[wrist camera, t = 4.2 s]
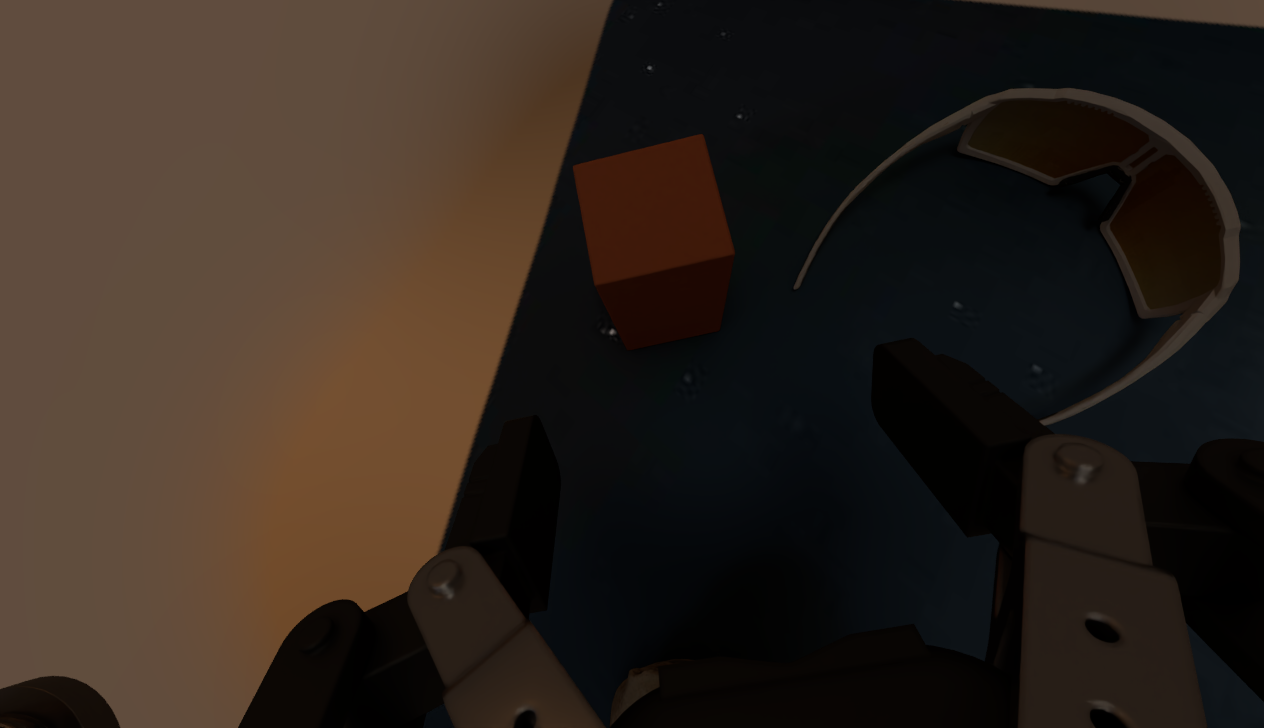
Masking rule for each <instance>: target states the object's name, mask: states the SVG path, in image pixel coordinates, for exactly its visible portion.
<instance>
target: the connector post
mask: <svg viewBox="0 0 1264 728" xmlns="http://www.w3.org/2000/svg"><path fill="white" fill-rule="evenodd" d="M573 171H574V176H575V182H576V187H577V193H578V198H579V203H580V209H581V214H582V220H583V225H584V231H585V236H586V241H587V247H588V252H589V258H590V263H591V269H592V274H593V280H594V285H595V287H596V289H597V291H598V293H599V295H600V297H601V299H602V301H603V303H604V305H605V307H606V309H607V311H608V313H609V315H610V317H611V319H612V321H613V323H614V325H615V327H616V329H617V331H618V333H619V335H620V337H621V339H622V341H623V343H624V345H625V347H626V349H627V350H633V349H638V348H643V347H647V346H652V345H656V344H661V343H666V342H670V341H675V340H679V339H684V338H689V337H693V336H698V335H702V334H707V333H712V332H716V331H719V330H720V327H721V321H722V316H723V311H724V306H725V301H726V296H727V291H728V286H729V281H730V275H731V270H732V265H733V260H734V255H735V251H734V247H733V243H732V240H731V236H730V232H729V228H728V225H727V221H726V217H725V214H724V210H723V206H722V202H721V199H720V195H719V191H718V187H717V184H716V180H715V176H714V173H713V169H712V165H711V161H710V158H709V154H708V150H707V146H706V143H705V139H704V136H703V134H699V135H695V136H691V137H687V138H683V139H679V140H675V141H671V142H667V143H663V144H659V145H655V146H651V147H647V148H643V149H638V150H634V151H630V152H626V153H622V154H618V155H614V156H610V157H606V158H602V159H598V160H594V161H590V162H586V163H582V164H578V165H574V166H573Z"/></svg>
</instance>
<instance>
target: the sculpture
mask: <svg viewBox="0 0 1264 728" xmlns="http://www.w3.org/2000/svg"><path fill="white" fill-rule="evenodd" d="M687 661H693V660H689V659H672V660H667V661H662V662H657V663H654V664H651V665H648V666H646V667H643V668H634V669H631V670H629V675H628V679H626V680H625V681H623V682H622V683H621V685H620V686H619V687H618V689H617V690H616V693H615V696H614V699H613V703H612V709H611V718H610V727H611V725H612V724H613V723H614V722H615V721H616V720H617V719H618V717H619V716H620V715H621V714H622V713H623V712H624V711H625V710H626V709H627V708H629V707H630V706H631V705H632V704H633V703H634V702H635V701H637V700H638V699H640V698H641V697H643V696H644V695H646V694H647V693H649V692H650V691H652V690H654V689H656V688H658V687H660V685H659V673H658V666H663V665H669V664H675V663H681V662H687Z"/></svg>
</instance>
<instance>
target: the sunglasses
mask: <svg viewBox="0 0 1264 728" xmlns="http://www.w3.org/2000/svg"><path fill="white" fill-rule="evenodd" d="M968 123H969V124H968ZM962 124H963V125H966V124H968V125H967V127H966V129H965V131H964V132H963V135H962V137H961V140H960V142H959V145H958V147H957V151H958V152H960V153H963V154H967V155H970V156H974V157H977V158H980V159H983V160H987V161H990V162H993V163H996V164H999V165H1002V166H1005V167H1008V168H1010V169H1013V170H1016V171H1018V172H1021V173H1023V174H1026V175H1028V176H1031V177H1033V178H1035V179H1037V180H1039V181H1041V182H1044V183H1046V184H1048V185H1058V184H1059V186H1060V187H1065V186H1068V185H1072V184H1075V183H1078V182H1081V181H1084V180H1087V179H1090V178H1092V177H1095V176H1098V175H1102V174H1105V173H1107V174H1108V175H1109V176H1111V177H1112V178H1113V179H1114V180H1115V181H1116V182H1118V183H1119V184H1120V185H1121V186H1120V187H1119V189H1118V190H1117V192H1116V193H1115V195H1114V196H1113V198H1112V199H1111V200H1110V202H1109V203H1108V205H1107V206H1106V208H1105V209H1104V211H1103V212H1102V214H1101V215H1100V217H1099V219H1098V220H1099V221H1101V222H1102V223H1101V225H1100V231H1101V233H1102V234H1103V236H1104V238H1105V239H1106V241H1107V243H1108V244H1109V246H1110V248H1111V250H1112V251H1113V253H1114V255H1115V257H1116V259H1117V262H1118V264H1119V266H1120V269H1121V271H1122V274H1123V276H1124V278H1125V281H1126V283H1127V285H1128V288H1129V290H1130V293H1131V296H1132V299H1133V302H1134V305H1135V307H1136V310H1137V313H1138V316H1139V317H1140V318H1142V319H1147V318H1158V317H1167V316H1174V315H1178V314H1182V313H1183V314H1182V315H1181V316H1180V318H1181V320H1177V321H1176V322H1175V323H1174V324H1173V325H1172V326H1171V327H1170V328H1169V329H1168V330H1167V332H1166V333H1165V334H1164V335H1163V336H1162V337H1161V339H1160V341H1159V342H1158V343H1157V344H1156V346H1155V347H1154V348H1153V350H1152V351H1151V352H1150V354H1149V355H1148V356H1147V357H1146V358H1145V359H1144V360H1143V361H1142V362H1141V363H1139V364H1138V365H1137V366H1136V367H1135V368H1134V369H1133V370H1131V371H1130V372H1129V373H1128V374H1126V375H1125V376H1124V377H1123V378H1121V379H1120V380H1118V381H1117V382H1115V383H1113V384H1111V385H1110V386H1108V387H1106V388H1105V389H1103V390H1101V391H1100V392H1098V393H1096V394H1094V395H1092V396H1090V397H1088V398H1086V399H1084V400H1082V401H1080V402H1078V403H1076V404H1074V405H1072V406H1070V407H1068V408H1066V409H1064V410H1062V411H1060V412H1057V413H1054V414H1052V415H1049V416H1046V417H1043V418H1040V419H1038V421H1039V422H1040V423H1042V424H1043V425H1044V426H1047V425H1049V424H1052V423H1055V422H1058V421H1061V420H1063V419H1065V418H1068V417H1071V416H1073V415H1075V414H1077V413H1079V412H1081V411H1083V410H1085V409H1087V408H1089V407H1091V406H1093V405H1095V404H1097V403H1099V402H1100V401H1102V400H1104V399H1106V398H1108V397H1109V396H1111V395H1113V394H1115V393H1117V392H1118V391H1120V390H1122V389H1123V388H1125V387H1127V386H1128V385H1130V384H1132V383H1133V382H1135V381H1136V380H1138V379H1139V378H1141V377H1142V376H1144V375H1145V374H1147V373H1148V372H1149V371H1151V370H1152V369H1154V368H1155V367H1157V366H1158V365H1160V364H1161V363H1163V362H1164V361H1165V360H1166V359H1168V358H1169V357H1170V356H1172V355H1173V354H1174V353H1175V352H1177V351H1178V350H1179V349H1180V348H1181V347H1182V346H1183V345H1184V344H1185V343H1186V342H1187V341H1188V340H1189V339H1190V338H1192V337H1193V336H1194V335H1195V334H1196V333H1197V331H1198V330H1199V329H1200V328H1201V327H1202V326H1203V325H1204V324H1205V323H1206V322H1207V321H1209V320H1210V318H1211V317H1212V316H1213V315H1214V314H1215V313H1216V312H1217V311H1218V310H1219V309H1220V308H1221V307H1222V306H1223V305H1224V304H1225V303H1226V302H1227V300H1228V297H1229V295H1230V293H1231V291H1232V290H1233V288H1234V286H1235V285H1236V283H1237V282H1238V280H1239V267H1240V252H1239V232H1240V228H1241V225H1240V221H1239V217H1238V212H1237V210H1236V207H1235V204H1234V202H1233V199H1232V196H1231V194H1230V192H1229V190H1228V189H1227V187H1226V185H1225V184H1224V182H1223V180H1222V179H1221V177H1220V175H1219V174H1218V172H1217V170H1216V169H1215V167H1214V165H1213V164H1212V163H1211V162H1210V161H1209V160H1208V159H1207V158H1206V157H1205V156H1204V155H1203V154H1202V152H1201V151H1200V150H1199V149H1198V148H1197V147H1196V146H1195V145H1194V144H1193V143H1192V142H1191V141H1190V140H1189V139H1188V138H1186V137H1185V136H1184V135H1182V134H1181V133H1180V132H1178V131H1177V130H1176V129H1174V128H1173V127H1172V126H1170V125H1169V124H1168V123H1166V122H1165V121H1163V120H1162V119H1160V118H1158V117H1156V116H1154V115H1152V114H1150V113H1149V112H1147V111H1145V110H1143V109H1141V108H1139V107H1137V106H1135V105H1132V104H1130V103H1127V102H1124V101H1122V100H1119V99H1117V98H1113V97H1110V96H1106V95H1102V94H1099V93H1095V92H1091V91H1086V90H1079V89H1073V88H1064V89H1036V88H1026V89H1009V90H1006V91H1003V92H1001V93H998V94H994V95H990V96H986V97H984V98H982V99H980V100H978V101H976V102H975V103H973V104H971V105H969V106H967V107H965V108H964V109H962V110H960V111H958V112H956V113H954V114H952V115H950V116H948V117H947V118H945V119H943V120H941V121H939V122H938V123H936V124H934V125H932V126H931V127H929V128H928V129H926V130H925V131H923V132H922V133H921V134H919V135H918V136H916V137H915V138H913V139H912V140H910V141H909V142H908V143H907V144H905V145H904V146H903V147H902V148H900V149H899V150H898V151H896V152H895V153H894V154H893V155H891V156H890V157H889V158H888V159H887V160H885V161H884V162H883V163H882V164H880V165H879V166H878V167H877V168H876V169H875V170H874V171H873V172H872V173H871V174H870V175H868V176H867V177H866V178H865V179H864V180H863V181H862V182H861V183H860V184H859V185H858V186H857V187H856V188H855V189H854V190H853V191H852V192H851V193H850V194H849V195H848V197H847V198H846V199H845V200H844V201H843V202H842V203H841V205H840V206H839V207H838V209H837V210H836V212H835V213H834V214H833V216H832V217H831V219H830V220H829V222H828V223H827V224H826V226H825V227H824V229H823V230H822V232H821V233H820V235H819V237H818V239H817V241H816V243H815V244H814V246H813V248H812V250H811V252H810V254H809V255H808V257H807V259H806V261H805V263H804V266H803V268H802V270H801V272H800V274H799V276H798V278H797V281H796V283H795V285H794V289H798V288H799V287H800V285H801V284H802V282H803V280H804V278H805V276H806V273H807V271H808V269H809V267H810V265H811V263H812V261H813V259H814V257H815V255H816V253H817V252H818V250H819V248H820V246H821V245H822V243H823V241H824V240H825V238H826V236H827V234H828V233H829V231H830V230H831V228H832V227H833V226H834V224H835V223H836V221H837V220H838V219H839V217H840V216H841V215H842V213H843V212H844V211H845V210H846V208H847V207H848V206H849V205H850V204H851V202H852V201H853V200H854V199H855V198H856V197H857V196H858V195H859V194H860V193H861V192H862V191H863V190H864V189H865V188H866V187H867V186H868V185H869V184H870V183H871V182H872V181H873V180H874V179H875V178H876V177H877V176H878V175H880V174H881V173H882V172H883V171H884V170H885V169H886V168H888V167H889V166H890V165H892V164H893V163H894V162H896V161H897V160H898V159H900V158H901V157H902V156H904V155H905V154H907V153H909V152H910V151H912V150H913V149H915V148H917V147H918V146H920V145H922V144H924V143H927V142H929V141H932V140H934V139H937V138H939V137H942V136H945V135H946V134H948V133H950V132H952V131H955V130H957V129H959V128H960V127H961V126H962Z"/></svg>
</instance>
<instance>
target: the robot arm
mask: <svg viewBox="0 0 1264 728" xmlns="http://www.w3.org/2000/svg"><path fill="white" fill-rule="evenodd" d="M871 402H872V408H873V412H874V415H875V418H876V420H877V422H878V424H879V425H880V427H881V428H882V429H883V430H884V432H885V433H886V434H887V436H888V437H889V438H890V439H891V441H892V442H893V443H894V444H895V446H896V447H897V448H898V450H899V451H900V452H901V453H902V455H903V456H904V457H905V459H906V460H907V461H908V462H909V464H910V465H911V466H912V467H913V469H914V470H915V471H916V473H917V474H918V475H919V476H920V478H921V479H922V480H923V481H924V483H925V484H926V485H927V487H928V488H929V489H930V490H931V492H932V493H933V494H934V496H935V497H936V498H937V499H938V501H939V502H940V503H941V504H942V506H943V507H944V508H945V510H946V511H947V512H948V513H949V515H950V516H951V517H952V519H953V520H954V521H955V522H956V524H957V525H958V526H959V527H960V529H961V530H962V531H963V533H964V534H965V535H966V536H967V537H973V536H978V535H984V534H990V533H992V534H993V536H994V537H995V538H996V539H997V540H998V541H999V547H998V551H997V556H996V567H995V579H994V590H993V601H992V612H991V623H990V633H989V641H988V647H987V652H986V657H985V662H984V661H982V660H980V659H977V658H975V657H973V656H970V655H967V654H963V653H960V652H957V651H954V650H950V649H945V648H940V647H936V646H929V645H925V643H924V641H923V639H922V638H921V636H920V634H919V632H918V631H917V629H916V627H915V625H914V624H911V625H905V626H899V627H892V628H886V629H880V630H874V631H868V632H862V633H856V634H850V635H847V636H845V637H843V638H841V639H839V640H837V641H835V642H833V643H831V644H829V645H827V646H825V647H823V648H821V649H819V650H817V651H814V652H812V653H810V654H808V655H806V656H804V657H802V658H800V659H798V660H796V661H793V662H790V663H777V662H768V661H758V660H749V659H740V658H730V657H721V656H718V657H711V658H705V659H699V660H693V661H687V662H681V663H675V664H669V665H663V666H658V673H659V685H660V687H658V688H656V689H654V690H652V691H650V692H649V693H647V694H646V695H644V696H643V697H641V698H640V699H638V700H637V701H635V702H634V703H633V704H632V705H631V706H630V707H629V708H627V709H626V710H625V711H624V712H623V713H622V714H621V715H620V716H619V717H618V719H617V720H616V721H615V722H614V723H613V724H612V725H611V727H610V728H1207V724H1206V719H1205V714H1204V709H1203V704H1202V699H1201V694H1200V690H1199V685H1198V680H1197V675H1196V670H1195V665H1194V660H1193V656H1192V651H1191V646H1190V641H1189V636H1188V631H1187V626H1186V623H1187V624H1188V625H1189V626H1190V627H1191V628H1192V629H1193V630H1194V631H1195V632H1196V633H1197V635H1198V636H1199V637H1200V638H1201V639H1202V640H1203V641H1204V642H1205V643H1206V644H1207V645H1208V646H1209V647H1210V648H1211V649H1212V650H1213V651H1214V652H1215V653H1216V654H1217V655H1218V656H1219V657H1220V658H1221V659H1222V660H1223V661H1224V662H1225V663H1226V664H1227V665H1228V666H1229V667H1230V668H1231V669H1232V670H1233V671H1234V672H1235V673H1236V674H1237V675H1238V676H1239V677H1240V678H1241V679H1242V680H1243V681H1244V682H1245V683H1246V684H1247V685H1248V686H1249V687H1250V688H1251V689H1252V690H1253V691H1254V692H1255V693H1256V694H1257V695H1258V696H1259V698H1260V699H1261V700H1262V701H1263V702H1264V442H1260V441H1254V440H1246V439H1218V440H1213V441H1209V442H1207V443H1204V444H1203V445H1202V446H1200V447H1199V449H1198V450H1197V452H1196V454H1195V456H1194V458H1193V460H1192V462H1191V464H1180V463H1155V462H1133V461H1129V460H1128V459H1127V458H1126V457H1125V456H1124V455H1122V454H1121V453H1120V452H1118V451H1117V450H1115V449H1113V448H1111V447H1109V446H1107V445H1105V444H1103V443H1100V442H1098V441H1095V440H1092V439H1088V438H1085V437H1080V436H1075V435H1067V434H1054V433H1053V432H1052V431H1051V430H1049V429H1048V428H1047V427H1045V426H1044V425H1043V424H1042V423H1040V422H1039V421H1038V420H1037V419H1035V418H1034V417H1033V416H1032V415H1030V414H1029V413H1028V412H1027V411H1025V410H1024V409H1023V408H1022V407H1020V406H1019V405H1018V404H1017V403H1015V402H1014V401H1013V400H1012V399H1010V398H1009V397H1008V396H1007V395H1005V394H1004V393H1000V392H999V389H998V388H997V387H995V386H994V385H993V384H992V383H990V382H989V381H985V378H984V377H983V376H981V375H980V374H979V373H978V372H976V371H975V370H974V369H973V368H971V367H970V366H969V365H968V364H966V363H963V362H961V361H958V360H956V359H953V358H951V357H949V356H946V355H944V354H940V355H934V354H933V353H932V352H930V351H929V350H928V349H927V348H926V347H925V346H923V345H922V344H921V343H920V342H919V341H917V340H916V339H914V338H909V339H904V340H899V341H894V342H889V343H885V344H880V345H877V346H876V347H875V349H874V354H873V373H872V395H871ZM560 489H561V478H560V471H559V466H558V463H557V460H556V457H555V455H554V452H553V450H552V447H551V445H550V442H549V440H548V437H547V435H546V432H545V430H544V427H543V425H542V423H541V420H540V419H539V417H538V416H537V415H534V416H529V417H524V418H519V419H514V420H510V421H506V422H505V423H504V426H503V429H502V432H501V436H500V439H499V443H498V444H495V445H490V446H488V447H487V448H486V449H485V450H484V452H483V453H482V454H481V455H480V457H479V458H478V459H477V460H476V462H475V463H474V466H473V469H472V472H471V475H470V478H469V483H468V484H467V486H466V489H465V492H464V498H462V501H461V504H460V507H459V510H458V513H457V516H456V519H455V522H454V524H453V527H452V530H451V533H450V536H449V539H448V542H447V545H446V548H445V551H443V552H441V553H439V554H438V555H436V556H434V557H433V558H432V559H430V560H429V561H428V562H427V563H426V564H425V565H424V566H423V567H422V568H421V569H420V570H419V571H418V572H417V574H416V575H415V577H414V578H413V580H412V582H411V584H410V587H409V590H408V591H407V592H405V593H403V594H402V595H399V596H397V597H395V598H393V599H391V600H389V601H387V602H385V603H383V604H381V605H378V606H376V607H374V608H372V609H370V610H368V611H366V612H363V610H362V609H361V608H360V607H359V606H358V605H357V603H355V602H354V601H351V600H343V599H342V600H337V601H333V602H330V603H328V604H325V605H323V606H321V607H319V608H318V609H316V610H314V611H313V612H312V613H310V614H309V615H307V616H306V617H305V618H304V619H303V620H301V621H300V622H299V623H298V624H297V625H296V626H295V627H294V628H293V629H292V631H291V632H290V633H289V634H288V636H287V637H286V638H285V640H284V641H283V643H282V645H281V647H280V648H279V650H278V652H277V654H276V656H275V658H274V660H273V662H272V664H271V665H270V667H269V669H268V671H267V673H266V675H265V677H264V679H263V681H262V683H261V685H260V687H259V689H258V690H257V692H256V694H255V696H254V698H253V700H252V702H251V704H250V706H249V708H248V710H247V712H246V713H245V715H244V717H243V719H242V721H241V723H240V725H239V727H238V728H423V725H424V721H425V716H426V713H427V712H429V711H431V710H432V709H434V708H436V707H438V706H440V705H442V704H445V706H446V709H447V711H448V713H449V716H450V718H451V720H452V722H453V725H454V727H455V728H606V727H605V726H604V724H603V723H602V721H601V720H600V719H599V717H598V716H597V714H596V713H595V712H594V710H593V709H592V707H591V706H590V705H589V703H588V702H587V700H586V699H585V697H584V696H583V695H582V693H581V692H580V690H579V689H578V688H577V686H576V685H575V683H574V682H573V681H572V679H571V678H570V676H569V675H568V673H567V672H566V671H565V669H564V668H563V666H562V665H561V664H560V662H559V661H558V659H557V658H556V657H555V655H554V654H553V652H552V651H551V649H550V648H549V647H548V645H547V644H546V642H545V641H544V640H543V638H542V637H541V635H540V634H539V633H538V631H537V630H536V628H535V627H534V626H533V624H532V623H531V622H530V620H529V613H534V612H539V611H545V610H547V605H548V596H549V587H550V578H551V570H552V561H553V552H554V543H555V534H556V525H557V516H558V507H559V498H560ZM0 728H49V727H48V726H47V725H45V724H44V723H43V722H41V721H40V720H38V719H36V718H34V717H31V716H29V715H25V714H18V713H7V714H1V715H0Z"/></svg>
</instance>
